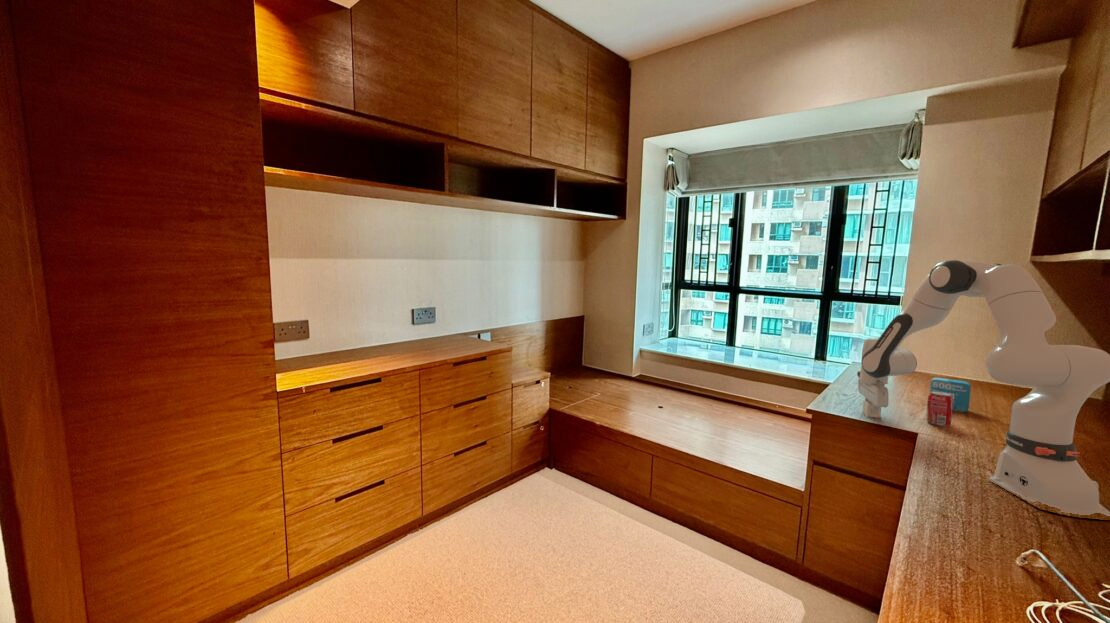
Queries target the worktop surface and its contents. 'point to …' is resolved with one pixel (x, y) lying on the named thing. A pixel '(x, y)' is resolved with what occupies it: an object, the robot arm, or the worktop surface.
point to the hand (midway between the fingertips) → (871, 411)
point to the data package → (954, 392)
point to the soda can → (939, 408)
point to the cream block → (870, 409)
